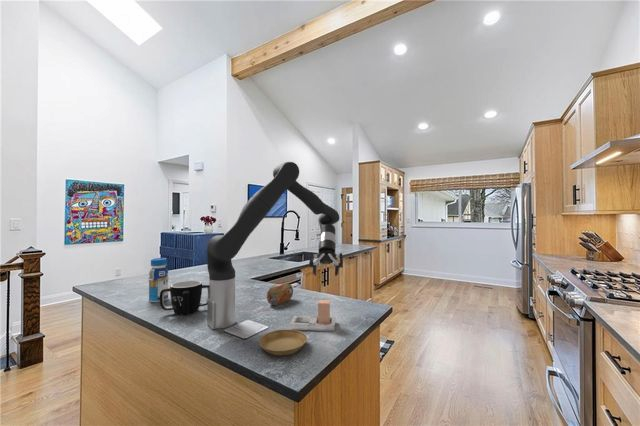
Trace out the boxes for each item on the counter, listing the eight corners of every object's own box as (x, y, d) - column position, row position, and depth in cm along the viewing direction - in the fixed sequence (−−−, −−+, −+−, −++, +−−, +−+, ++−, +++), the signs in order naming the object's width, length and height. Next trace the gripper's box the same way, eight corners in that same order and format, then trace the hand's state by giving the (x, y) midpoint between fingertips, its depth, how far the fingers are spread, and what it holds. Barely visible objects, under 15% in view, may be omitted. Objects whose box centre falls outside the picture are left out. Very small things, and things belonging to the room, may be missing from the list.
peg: (329, 328, 97) (329, 303, 98) (318, 328, 98) (318, 303, 98) (329, 324, 101) (329, 300, 102) (319, 323, 102) (319, 299, 102)
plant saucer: (250, 346, 85) (250, 337, 85) (289, 332, 94) (289, 325, 95) (274, 365, 74) (274, 356, 74) (316, 348, 83) (316, 339, 83)
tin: (270, 307, 120) (270, 288, 121) (265, 306, 122) (265, 287, 122) (293, 299, 132) (293, 282, 133) (288, 298, 134) (288, 281, 134)
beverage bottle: (149, 298, 134) (150, 258, 135) (169, 296, 138) (169, 257, 138) (147, 303, 127) (147, 260, 127) (167, 301, 130) (168, 259, 130)
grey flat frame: (289, 329, 97) (289, 323, 97) (293, 320, 105) (293, 315, 105) (334, 331, 95) (334, 325, 95) (335, 322, 103) (335, 316, 103)
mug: (156, 314, 112) (156, 285, 112) (190, 303, 126) (190, 277, 126) (181, 321, 104) (181, 290, 105) (215, 309, 119) (215, 281, 119)
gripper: (311, 238, 121) (307, 269, 110) (342, 238, 120) (342, 269, 108) (312, 249, 127) (309, 279, 115) (343, 249, 125) (342, 280, 114)
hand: (325, 274), depth 112 cm, fingers open, 8 cm apart
